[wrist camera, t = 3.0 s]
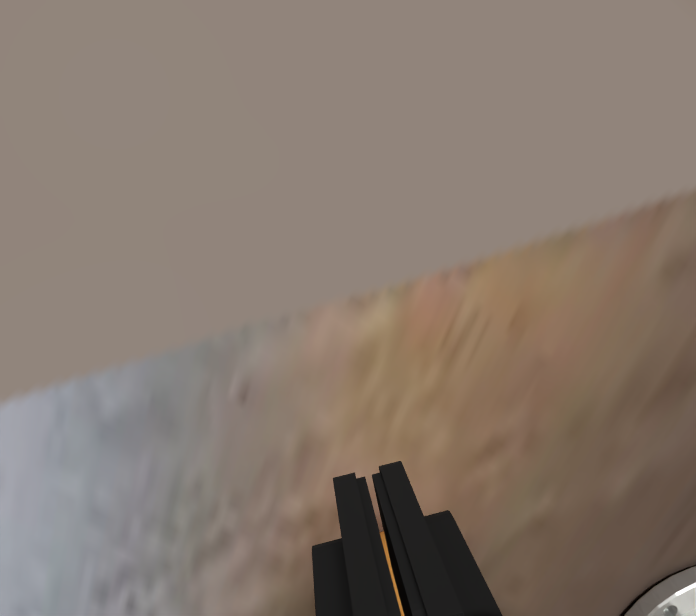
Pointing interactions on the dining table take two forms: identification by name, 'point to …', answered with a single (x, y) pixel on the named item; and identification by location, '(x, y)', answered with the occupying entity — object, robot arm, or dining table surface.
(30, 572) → the dining table surface
